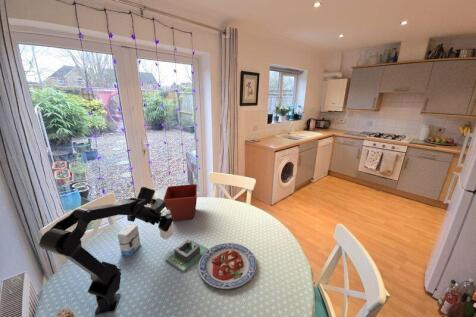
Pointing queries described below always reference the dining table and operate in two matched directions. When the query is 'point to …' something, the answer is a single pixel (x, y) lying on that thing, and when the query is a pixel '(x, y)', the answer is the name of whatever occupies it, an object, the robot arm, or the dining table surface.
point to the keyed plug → (170, 230)
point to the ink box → (129, 239)
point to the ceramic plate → (227, 265)
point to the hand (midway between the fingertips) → (167, 222)
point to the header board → (186, 255)
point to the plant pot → (181, 201)
